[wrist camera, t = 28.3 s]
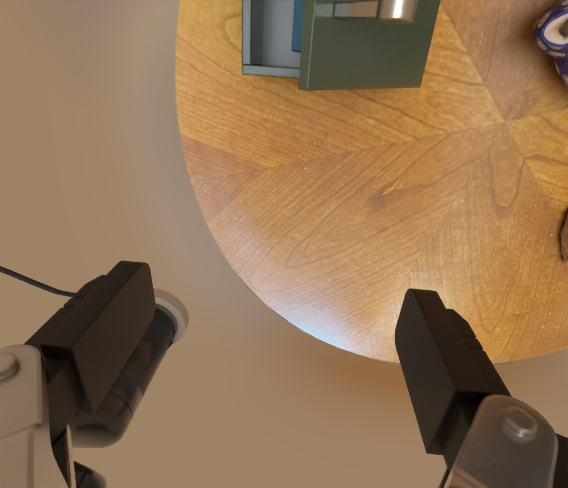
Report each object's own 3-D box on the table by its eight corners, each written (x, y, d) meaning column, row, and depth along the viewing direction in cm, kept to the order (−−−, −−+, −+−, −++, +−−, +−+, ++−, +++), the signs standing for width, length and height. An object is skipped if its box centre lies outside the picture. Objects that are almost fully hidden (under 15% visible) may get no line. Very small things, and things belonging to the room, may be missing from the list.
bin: (256, 71, 38) (241, 74, 30) (258, -62, 33) (241, -101, 25) (394, 81, 38) (415, 86, 30) (421, -53, 32) (455, -90, 24)
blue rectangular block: (298, -31, 33) (297, -40, 30) (344, -28, 33) (347, -37, 30) (292, 51, 36) (291, 50, 33) (334, 54, 36) (336, 54, 33)
